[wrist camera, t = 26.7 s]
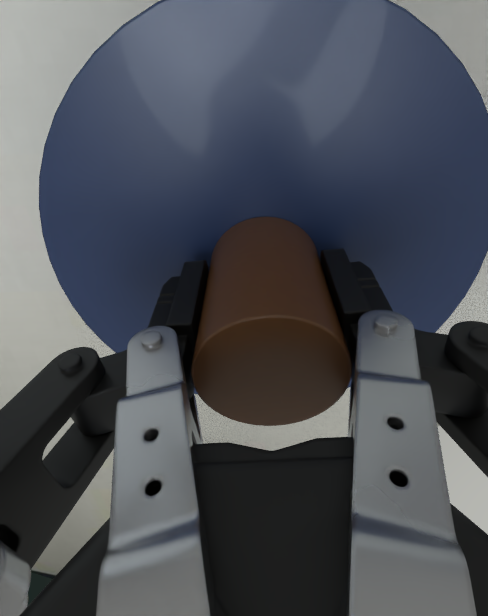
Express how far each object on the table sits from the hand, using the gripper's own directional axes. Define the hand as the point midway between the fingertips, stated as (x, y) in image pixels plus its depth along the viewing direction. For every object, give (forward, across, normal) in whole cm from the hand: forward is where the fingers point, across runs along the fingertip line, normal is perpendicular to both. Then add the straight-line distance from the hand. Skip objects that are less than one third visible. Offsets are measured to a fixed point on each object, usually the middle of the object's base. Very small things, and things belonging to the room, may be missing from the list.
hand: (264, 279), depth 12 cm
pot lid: (+1, 0, 0) cm, 1 cm away
